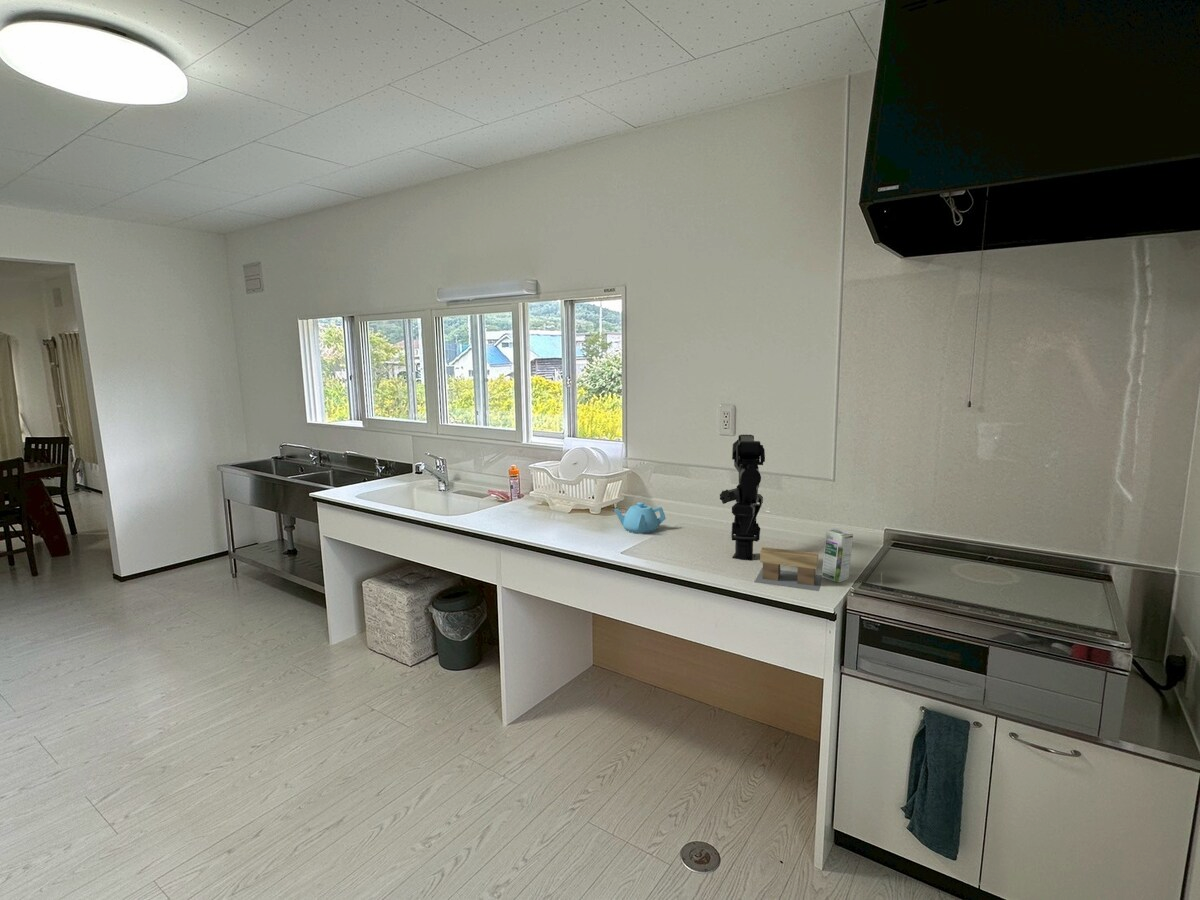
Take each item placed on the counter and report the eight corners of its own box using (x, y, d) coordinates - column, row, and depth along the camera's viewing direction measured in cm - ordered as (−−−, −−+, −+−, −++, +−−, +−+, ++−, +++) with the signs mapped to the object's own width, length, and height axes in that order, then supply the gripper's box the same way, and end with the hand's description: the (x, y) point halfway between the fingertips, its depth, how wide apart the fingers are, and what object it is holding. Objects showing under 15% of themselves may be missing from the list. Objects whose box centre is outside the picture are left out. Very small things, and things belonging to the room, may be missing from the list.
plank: (762, 558, 186) (762, 547, 185) (817, 564, 180) (818, 553, 179) (760, 562, 182) (760, 550, 182) (816, 568, 176) (817, 557, 176)
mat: (762, 568, 193) (762, 567, 192) (822, 576, 185) (822, 575, 185) (754, 583, 180) (754, 582, 180) (818, 592, 173) (818, 591, 173)
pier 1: (764, 574, 187) (765, 558, 186) (780, 576, 185) (780, 560, 184) (762, 578, 183) (762, 562, 182) (777, 580, 181) (778, 564, 180)
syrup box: (820, 577, 184) (825, 530, 181) (832, 573, 187) (837, 527, 185) (837, 583, 179) (842, 535, 177) (849, 579, 182) (854, 532, 180)
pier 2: (799, 578, 183) (799, 562, 182) (815, 580, 181) (815, 564, 180) (797, 583, 178) (797, 567, 178) (813, 585, 177) (814, 569, 176)
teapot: (641, 537, 228) (641, 509, 226) (612, 529, 239) (612, 502, 237) (667, 529, 238) (668, 502, 237) (639, 522, 249) (639, 496, 248)
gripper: (729, 474, 199) (727, 521, 202) (715, 484, 183) (714, 535, 185) (763, 477, 195) (762, 524, 197) (753, 487, 178) (751, 539, 180)
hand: (747, 530), depth 190 cm, fingers open, 9 cm apart
